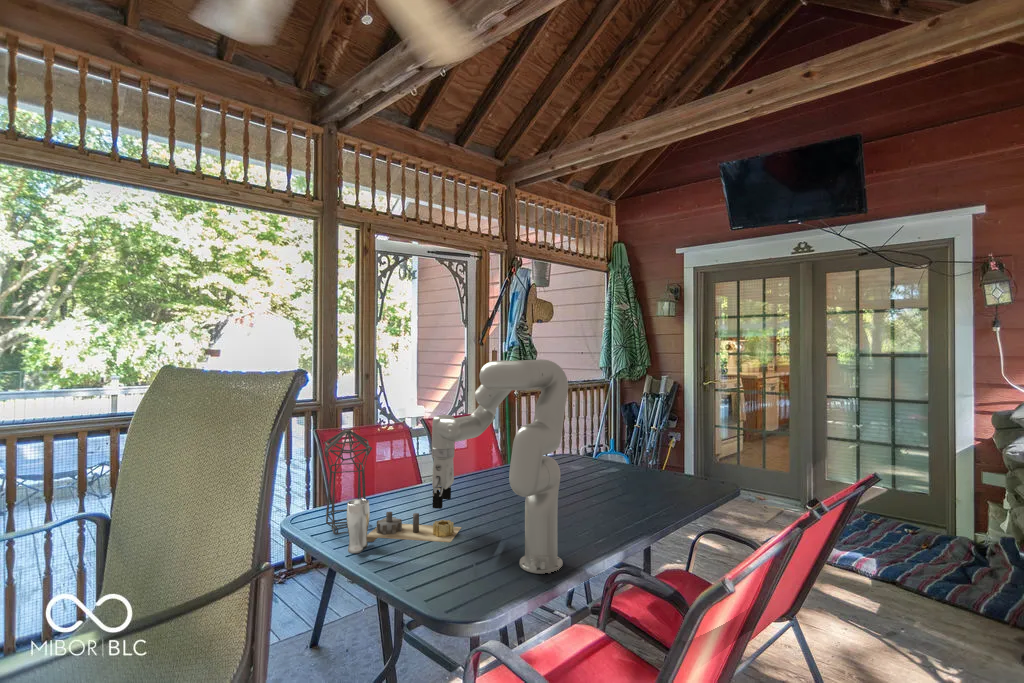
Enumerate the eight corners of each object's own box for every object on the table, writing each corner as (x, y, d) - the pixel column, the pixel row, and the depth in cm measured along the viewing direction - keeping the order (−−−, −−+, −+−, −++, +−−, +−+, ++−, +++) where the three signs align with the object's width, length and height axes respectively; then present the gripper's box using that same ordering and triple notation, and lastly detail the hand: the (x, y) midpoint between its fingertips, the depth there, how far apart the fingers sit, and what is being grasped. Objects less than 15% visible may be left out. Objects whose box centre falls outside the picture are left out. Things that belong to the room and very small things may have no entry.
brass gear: (450, 537, 168) (450, 527, 169) (430, 536, 170) (430, 525, 170) (455, 530, 175) (455, 520, 175) (436, 529, 176) (436, 519, 176)
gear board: (450, 547, 165) (450, 523, 165) (364, 541, 169) (364, 518, 169) (461, 531, 178) (461, 509, 179) (382, 526, 183) (382, 505, 183)
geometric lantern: (366, 519, 191) (368, 425, 190) (370, 535, 176) (373, 432, 176) (320, 524, 185) (323, 426, 185) (321, 540, 170) (323, 434, 170)
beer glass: (361, 543, 167) (361, 497, 167) (374, 549, 163) (374, 501, 163) (341, 550, 162) (342, 502, 162) (354, 556, 157) (355, 506, 158)
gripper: (446, 458, 164) (445, 512, 164) (460, 447, 181) (459, 496, 181) (423, 457, 165) (422, 511, 165) (440, 446, 182) (438, 495, 182)
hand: (441, 503), depth 173 cm, fingers open, 9 cm apart
